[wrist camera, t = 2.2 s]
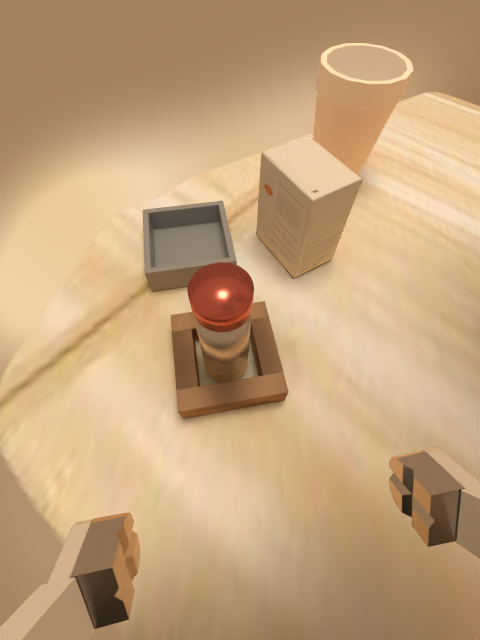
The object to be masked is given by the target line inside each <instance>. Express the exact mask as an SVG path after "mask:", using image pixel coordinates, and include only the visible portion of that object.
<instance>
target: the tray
mask: <svg viewBox="0 0 480 640" xmlns="http://www.w3.org/2000/svg"><path fill="white" fill-rule="evenodd" d="M143 232H144V262H145V275H146V277H147V280H148V282H149V284H150V287H151V289H152V291H158V290H165V289H173V288H180V287H187V286H188V284H189V281H190V279H191V277H192V276H193V275H194V273H195V272H197V271H198V270H199V269H200V268H202V267H204V266H206V265H208V264H212V263H218V262H225V263H231V264H234V265H236V257H235V252H234V248H233V243H232V239H231V235H230V230H229V226H228V221H227V217H226V212H225V208H224V204H223V201H217V202H208V203H199V204H190V205H182V206H173V207H164V208H155V209H147V210H143Z"/></svg>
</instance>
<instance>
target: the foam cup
mask: <svg viewBox="0 0 480 640" xmlns="http://www.w3.org/2000/svg"><path fill="white" fill-rule="evenodd" d="M412 73H413V67H412V64H411V61H410V60H409V59H408V58H406V57H405V56H404V55H402V54H401V53H399V52H397V51H394V50H392V49H389V48H386V47H384V46H378V45H372V44H366V43H350V44H342V45H338V46H334V47H330V48H329V49H328V50H326V51H325V52H324V53H323V54H322V55H321V60H320V65H319V71H318V76H317V81H316V90H317V101H316V112H315V124H314V134H313V140H314V141H316V142H317V143H318V144H319V145H320V146H322V147H323V148H324V149H326V150H327V151H328V152H329V153H331V154H332V155H333V156H334V157H335V158H337V159H338V160H339V161H340V162H342V163H343V164H344V165H345V166H347V167H348V168H349V169H351V170H352V171H353V172H354V173H355V174H357V175H358V174H359V173H360V171H361V169H362V167H363V165H364V163H365V161H366V160H367V158H368V156H369V154H370V152H371V150H372V148H373V147H374V145H375V143H376V141H377V139H378V137H379V136H380V134H381V132H382V130H383V128H384V126H385V124H386V123H387V121H388V119H389V117H390V115H391V113H392V111H393V110H394V108H395V106H396V104H397V103H398V102H399V100H400V99H401V98H402V96H403V94H404V92H405V90H406V87H407V84H408V82H409V80H410V78H411V75H412Z"/></svg>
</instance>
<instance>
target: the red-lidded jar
mask: <svg viewBox="0 0 480 640" xmlns="http://www.w3.org/2000/svg"><path fill="white" fill-rule="evenodd" d="M253 293H254V286H253V281H252V279H251V277H250V276H249V274H248V273H247V272H246V271H245V270H244V269H242V268H241V267H239V266H237V265H234V264H231V263H225V262H218V263H212V264H208V265H206V266H204V267H202V268H200V269H199V270H198V271H197V272H195V273H194V275H193V276H192V277H191V279H190V281H189V284H188V296H189V300H190V304H191V308H192V312H193V317H194V321H195V325H196V329H197V333H198V337H199V341H200V345H201V349H202V353H203V357H204V361H205V365H206V369H207V371H208V373H209V374H210V376H211V377H213V378H214V379H215V380H218V381H220V382H228V381H234V380H237V379H239V378H240V377H241V376H242V375H243V374H244V372H245V371H246V368H247V364H248V352H249V341H250V329H251V317H252V305H253Z"/></svg>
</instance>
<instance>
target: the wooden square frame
mask: <svg viewBox="0 0 480 640" xmlns="http://www.w3.org/2000/svg"><path fill="white" fill-rule="evenodd" d="M171 325H172V338H173V351H174V363H175V376H176V389H177V401H178V412H179V413H180V415H181V416H182V417H183V418H188V417H194V416H199V415H205V414H210V413H216V412H221V411H227V410H233V409H238V408H244V407H249V406H255V405H260V404H266V403H271V402H277V401H282V400H285V398H286V396H287V394H288V388H287V385H286V381H285V377H284V373H283V369H282V366H281V362H280V358H279V354H278V350H277V347H276V343H275V339H274V335H273V331H272V328H271V324H270V320H269V316H268V312H267V308H266V305H265V301H264V302H257V303H253V305H252V317H251V329H250V337H251V342H252V346H253V351H254V355H255V360H256V364H257V369H258V373H259V376H257V377H251V378H246V379H240V380H234V381H228V382H222V383H216V384H211V385H205V386H200V382H199V374H198V365H197V357H196V348H195V340H199V337H198V333H197V329H196V325H195V321H194V317H193V312H189V313H182V314H176V315H171Z"/></svg>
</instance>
